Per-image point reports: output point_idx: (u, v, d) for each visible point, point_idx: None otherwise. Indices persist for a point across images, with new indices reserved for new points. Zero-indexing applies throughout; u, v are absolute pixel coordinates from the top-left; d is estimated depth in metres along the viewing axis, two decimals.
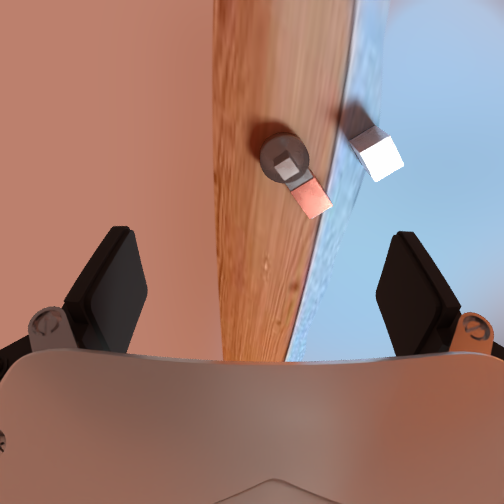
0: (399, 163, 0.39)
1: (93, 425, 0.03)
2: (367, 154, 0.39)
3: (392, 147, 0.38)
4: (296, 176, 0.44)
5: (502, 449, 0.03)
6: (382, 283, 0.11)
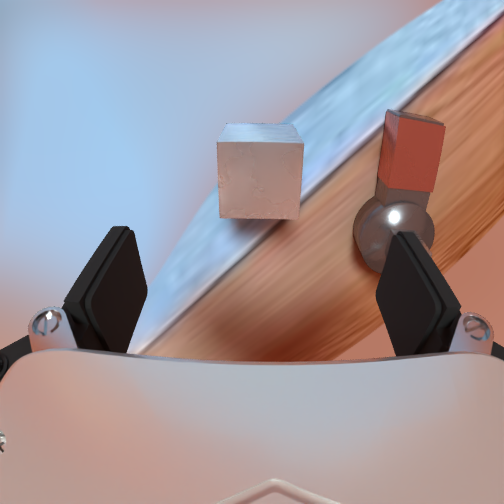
0: (226, 151, 0.18)
1: (93, 425, 0.03)
2: (285, 210, 0.20)
3: (226, 193, 0.19)
4: (407, 210, 0.23)
5: (502, 449, 0.03)
6: (382, 283, 0.11)
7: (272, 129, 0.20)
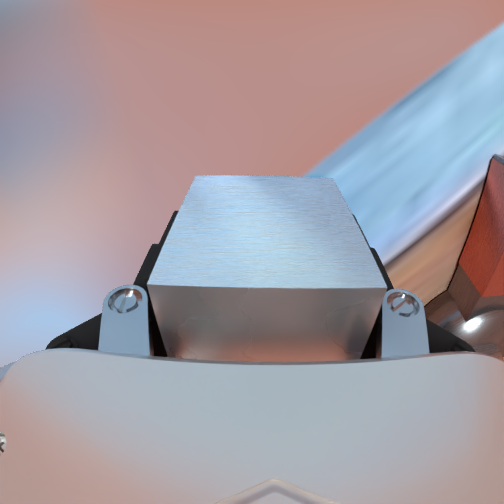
0: (176, 306, 0.07)
1: (93, 425, 0.03)
2: None
3: None
4: (495, 322, 0.12)
5: (502, 449, 0.03)
6: None
7: (294, 204, 0.09)
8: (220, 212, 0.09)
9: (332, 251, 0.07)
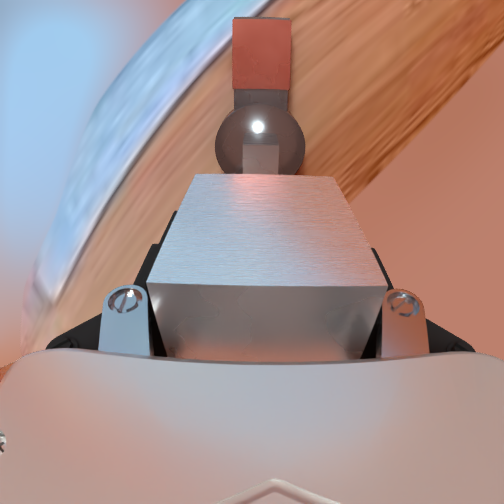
0: (175, 304, 0.07)
1: (93, 425, 0.03)
2: None
3: None
4: (260, 110, 0.22)
5: (502, 449, 0.03)
6: None
7: (294, 202, 0.09)
8: (220, 210, 0.09)
9: (332, 249, 0.07)
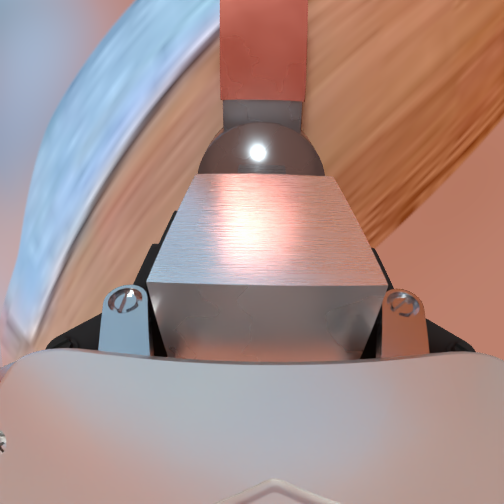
0: (175, 304, 0.07)
1: (93, 425, 0.03)
2: None
3: None
4: (261, 132, 0.15)
5: (502, 449, 0.03)
6: None
7: (294, 202, 0.09)
8: (220, 210, 0.09)
9: (332, 249, 0.07)
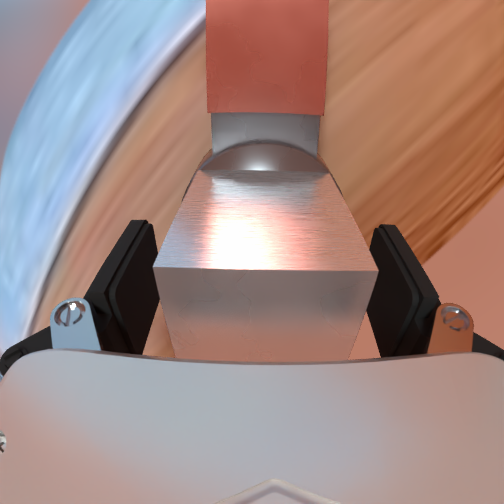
0: (179, 288, 0.07)
1: (93, 425, 0.03)
2: None
3: (190, 358, 0.09)
4: (264, 158, 0.11)
5: (502, 449, 0.03)
6: None
7: (292, 196, 0.10)
8: (221, 203, 0.09)
9: (327, 238, 0.08)
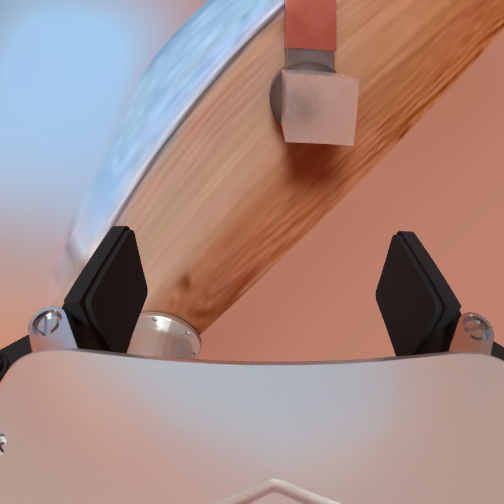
0: (294, 82, 0.19)
1: (93, 425, 0.03)
2: (343, 136, 0.21)
3: (292, 119, 0.20)
4: (311, 67, 0.23)
5: (502, 449, 0.03)
6: (382, 283, 0.11)
7: (325, 73, 0.21)
8: None
9: (341, 76, 0.19)
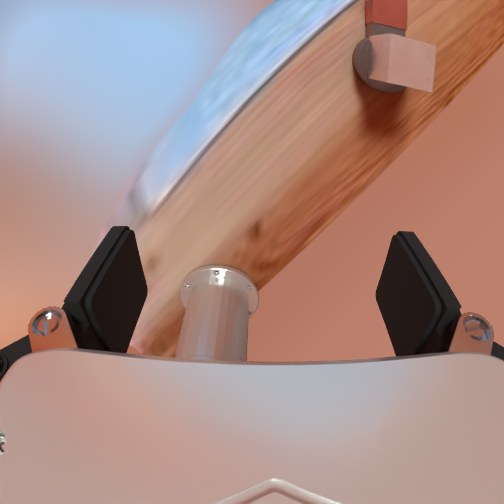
0: (395, 40, 0.21)
1: (93, 425, 0.03)
2: (425, 84, 0.23)
3: (393, 66, 0.23)
4: None
5: (502, 449, 0.03)
6: (382, 283, 0.11)
7: None
8: None
9: None
